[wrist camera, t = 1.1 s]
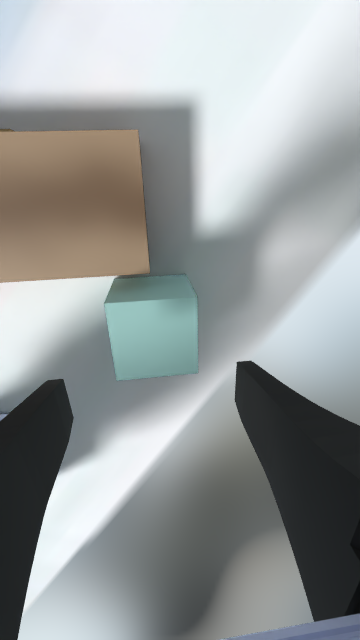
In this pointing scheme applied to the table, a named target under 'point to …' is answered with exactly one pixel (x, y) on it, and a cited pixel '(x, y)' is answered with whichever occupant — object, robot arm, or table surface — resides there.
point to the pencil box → (71, 205)
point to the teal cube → (153, 326)
